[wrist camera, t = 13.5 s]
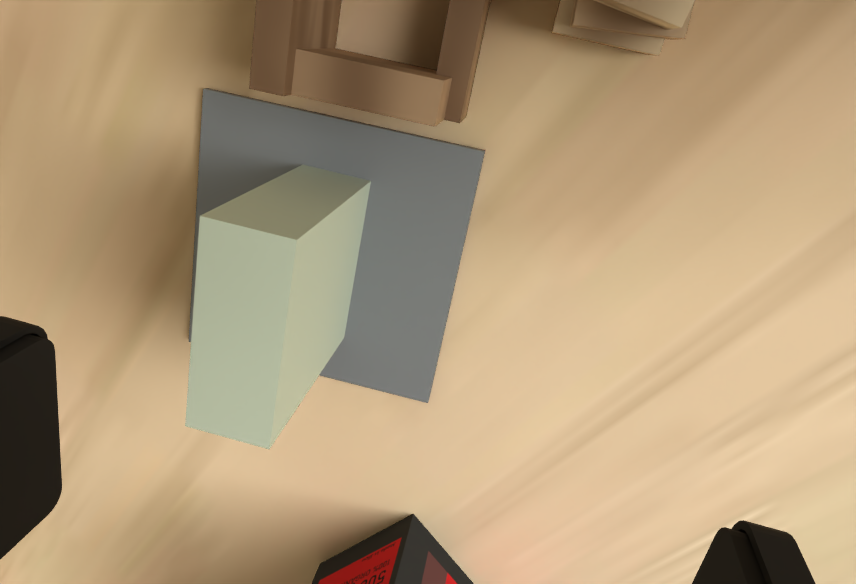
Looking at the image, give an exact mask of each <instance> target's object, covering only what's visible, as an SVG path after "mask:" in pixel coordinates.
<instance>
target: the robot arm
mask: <svg viewBox="0 0 856 584" xmlns="http://www.w3.org/2000/svg"><path fill="white" fill-rule="evenodd" d="M61 490H62V478H61V459H60V439H59V420H58V400H57V381H56V361H55V349H54V345H53V343H52V342H51V341H50V340H48V338H47V334H46V332H45V331H44V329H42V328H41V327H39V326H36V325H33V324H29V323H26V322H22V321H18V320H15V319H11V318H7V317H1V316H0V559H1V558H2V557H3V556H5V555H6V554H7V553H8V552H9V551H10V550H11V549H12V548H13V547H14V546H15V545H16V544H17V543H18V542H19V541H21V540H22V539H23V538H24V537H25V536H26V535H27V534H28V533H29V532H30V531H31V530H32V529H33V528H34V527H35V526H37V525H38V524H39V523H40V522H41V521H42V520H43V519H44V518H45V517H46V516H47V515H48V514H49V513H50V512H51V511H52V510H53V508H54V507H55V505H56V504H57V502H58V500H59V498H60V494H61ZM692 584H815V582H814V580H813V577H812V575H811V573H810V571H809V569H808V567H807V565H806V562H805V560H804V558H803V556H802V554H801V552H800V549H799V547H798V545H797V543H796V541H795V540H794V538H793V537H792V535H790V534H788V533H787V532H783V531H780V530H776V529H773V528H769V527H765V526H762V525H758V524H754V523H751V522H747V521H739V522H737V523H736V524H735V525H734V526H733V528H732V529H729V528H721V529H720V530H718V532H717V534H716V535H715V537H714V539H713V541H712V543H711V545H710V548H709V550H708V552H707V554H706V556H705V558H704V560H703V562H702V564H701V566H700V568H699V570H698V572H697V574H696V576H695V578H694V581H693V583H692Z"/></svg>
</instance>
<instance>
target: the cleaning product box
mask: <svg viewBox="0 0 856 584" xmlns="http://www.w3.org/2000/svg"><path fill="white" fill-rule="evenodd" d="M312 584H473V582H472V581H471V580H470V579H469V578H468V577H467V575H466V574H465V573H464V572H463V571H462V570H461V568H460V567H459V566H458V565H457V564H456V563H455V562H454V560H453V559H452V558H451V557H450V556H449V555H448V553H447V552H446V551H445V550H444V549H443V548H442V546H441V545H440V544H439V543H438V542H437V541H436V539H435V538H434V537H433V536H432V535H431V534H430V533H429V531H428V530H427V529H426V528H425V527H424V526H423V524H422V523H421V522H420V521H419V520H418V519H417V517H416V516H415V515H414V514H412V515H410V516H408V517H407V518H405V519H403V520H401V521H399V522H397V523H395V524H393V525H392V526H390V527H388V528H386V529H384V530H382V531H380V532H379V533H377V534H375V535H373V536H371V537H369V538H367V539H365V540H364V541H362V542H360V543H358V544H356V545H354V546H352V547H350V548H349V549H347V550H345V551H343V552H341V553H339V554H337V555H336V556H334V557H332V558H330V559H328V560H326V561H324V562H322V563H321V564H320V565H319V568H318V570H317V572H316V575H315V577H314V579H313V582H312Z"/></svg>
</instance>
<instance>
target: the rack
mask: <svg viewBox="0 0 856 584" xmlns="http://www.w3.org/2000/svg"><path fill="white" fill-rule="evenodd" d="M490 1H491V0H450V3H449V9H448V14H447V19H446V25H445V30H444V35H443V40H442V46H441V51H440V56H439V62H438V67H437V70H432V69H428V68H423V67H418V66H414V65H409V64H404V63H400V62H395V61H391V60H386V59H381V58H377V57H372V56H367V55H363V54H358V53H353V52H349V51H344V50H339V49H335V46H336V39H337V31H338V23H339V16H340V8H341V0H257V1H256V13H255V25H254V37H253V49H252V61H251V73H250V84H249V89H254V90H258V91H263V92H267V93H272V94H276V95H281V96H286V95H296V96H300V97H305V98H309V99H314V100H318V101H323V102H327V103H332V104H336V105H341V106H345V107H350V108H354V109H359V110H363V111H368V112H372V113H377V114H381V115H386V116H390V117H395V118H399V119H404V120H408V121H413V122H417V123H422V124H426V125H431V126H436V125H437V124H439V123H440V122H441V121H443V120H448V121H453V122H457V123H460V122H461V121H462V120H463V119H464V118H465V117H466V115H467V110H468V105H469V100H470V96H471V91H472V86H473V81H474V77H475V72H476V67H477V62H478V58H479V53H480V48H481V43H482V39H483V34H484V29H485V24H486V20H487V15H488V10H489V5H490Z"/></svg>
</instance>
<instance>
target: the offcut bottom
mask: <svg viewBox="0 0 856 584" xmlns="http://www.w3.org/2000/svg"><path fill="white" fill-rule="evenodd" d="M574 2H575V0H560V3H559V6H558V10H557V14H556V18H555V22H554V25H553V29H552V33H555V34H560V35H564V36H568V37H573V38H577V39H582V40H586V41H591V42H595V43H599V44H604V45H608V46H613V47H617V48H622V49H626V50H630V51H635V52H639V53H644V54H648V55H658V56H659V55H660V52H661V49H662V46H663V43H664V40H665V39H664V38H656V37H648V36H640V35H632V34H624V33H616V32H608V31H600V30H592V29H584V28H576V27H570V23H571V18H572V13H573V7H574Z"/></svg>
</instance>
